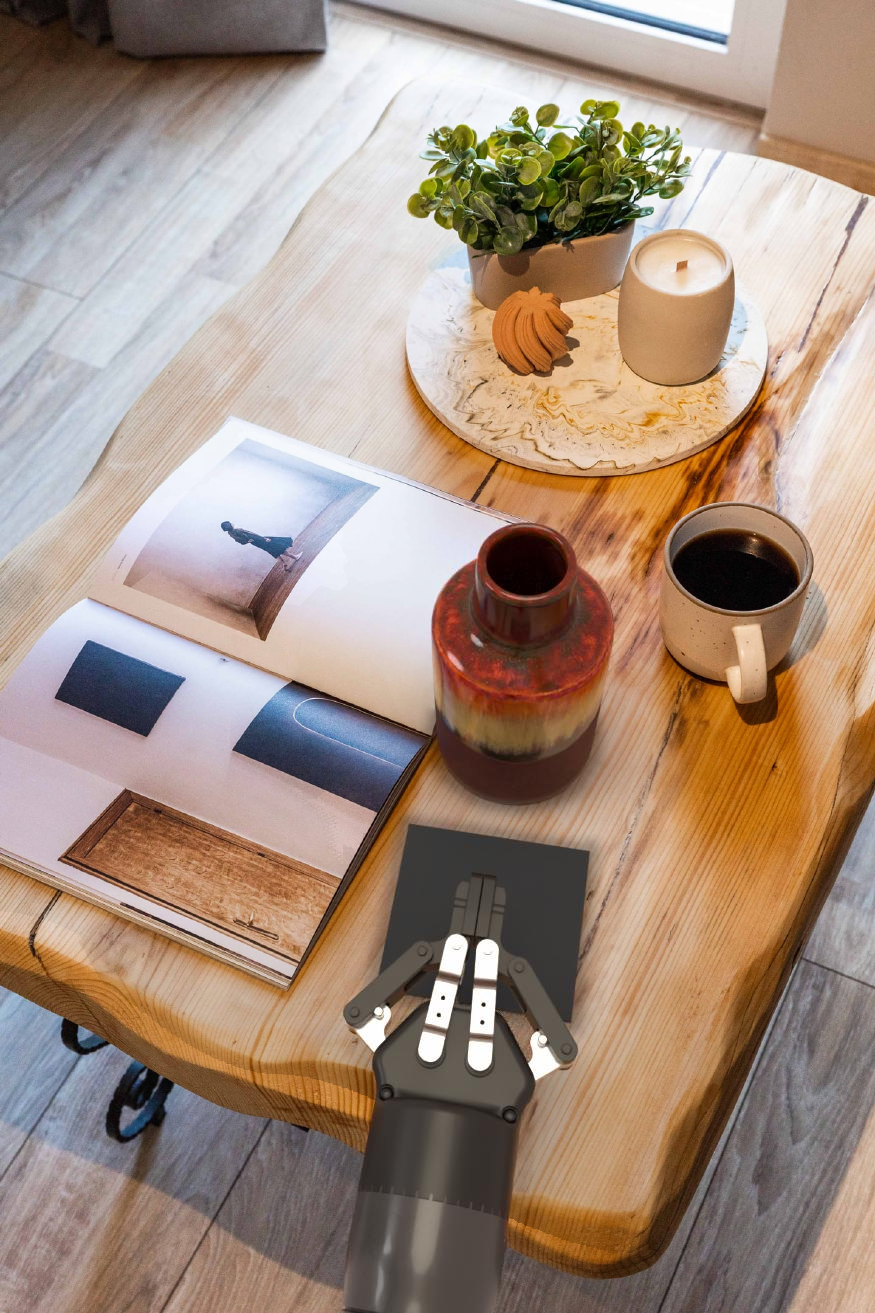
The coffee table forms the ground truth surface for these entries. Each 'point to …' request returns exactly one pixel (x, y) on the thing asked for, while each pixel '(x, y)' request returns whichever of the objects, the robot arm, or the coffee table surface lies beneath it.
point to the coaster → (535, 911)
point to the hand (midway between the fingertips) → (483, 878)
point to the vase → (519, 666)
